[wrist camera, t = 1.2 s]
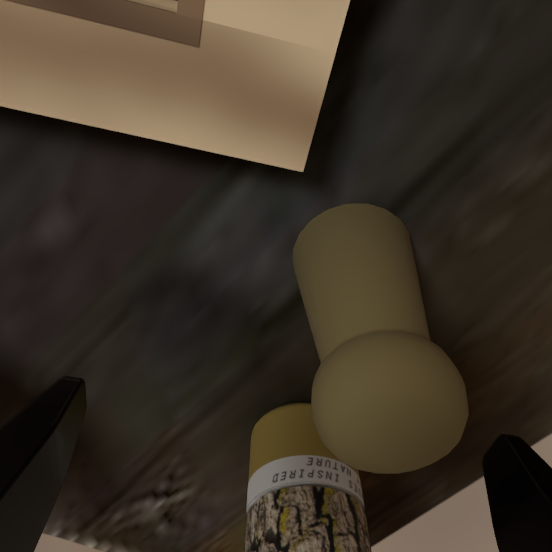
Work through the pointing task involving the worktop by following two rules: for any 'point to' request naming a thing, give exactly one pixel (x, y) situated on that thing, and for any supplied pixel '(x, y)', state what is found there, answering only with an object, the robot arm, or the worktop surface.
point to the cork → (375, 345)
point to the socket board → (177, 69)
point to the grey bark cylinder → (301, 489)
